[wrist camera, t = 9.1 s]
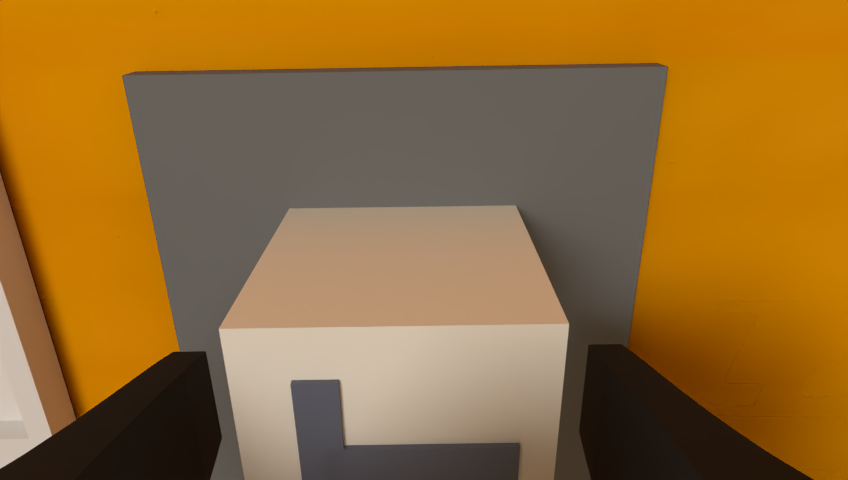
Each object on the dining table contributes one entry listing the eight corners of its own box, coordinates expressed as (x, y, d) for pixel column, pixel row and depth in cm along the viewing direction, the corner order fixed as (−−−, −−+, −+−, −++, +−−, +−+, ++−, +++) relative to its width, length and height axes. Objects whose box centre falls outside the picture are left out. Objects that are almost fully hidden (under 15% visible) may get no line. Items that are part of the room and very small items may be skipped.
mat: (602, 464, 17) (609, 480, 16) (215, 471, 17) (208, 488, 16) (656, 63, 12) (668, 66, 12) (135, 71, 12) (121, 75, 12)
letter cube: (505, 390, 15) (545, 573, 10) (309, 393, 15) (259, 579, 10) (515, 205, 13) (570, 327, 8) (289, 208, 13) (216, 332, 8)
